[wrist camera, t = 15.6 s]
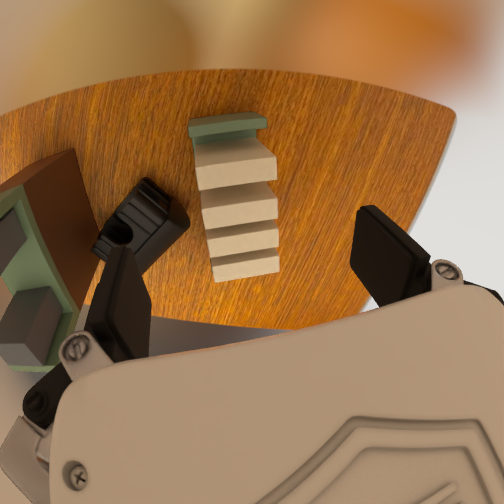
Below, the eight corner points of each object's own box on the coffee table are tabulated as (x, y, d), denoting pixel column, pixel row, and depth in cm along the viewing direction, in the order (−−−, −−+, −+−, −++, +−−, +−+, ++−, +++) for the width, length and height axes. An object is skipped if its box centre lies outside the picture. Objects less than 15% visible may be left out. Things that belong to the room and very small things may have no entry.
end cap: (142, 259, 36) (135, 293, 31) (100, 229, 32) (85, 259, 27) (191, 209, 34) (191, 237, 28) (147, 171, 30) (137, 193, 24)
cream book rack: (189, 119, 28) (185, 133, 19) (253, 111, 28) (277, 122, 20) (208, 243, 37) (214, 294, 28) (261, 234, 37) (282, 282, 29)
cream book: (195, 144, 28) (194, 167, 21) (254, 136, 29) (276, 156, 22) (197, 162, 30) (198, 190, 22) (256, 153, 30) (277, 179, 23)
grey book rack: (30, 163, 25) (-73, 252, 9) (74, 147, 26) (-34, 233, 10) (64, 256, 33) (11, 374, 17) (105, 248, 34) (61, 377, 18)
